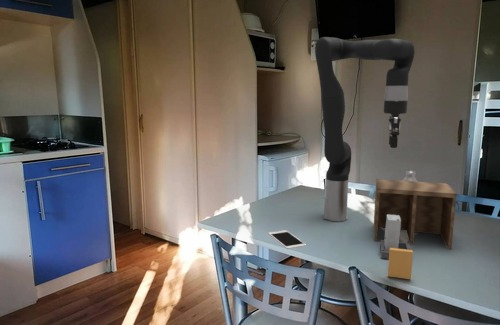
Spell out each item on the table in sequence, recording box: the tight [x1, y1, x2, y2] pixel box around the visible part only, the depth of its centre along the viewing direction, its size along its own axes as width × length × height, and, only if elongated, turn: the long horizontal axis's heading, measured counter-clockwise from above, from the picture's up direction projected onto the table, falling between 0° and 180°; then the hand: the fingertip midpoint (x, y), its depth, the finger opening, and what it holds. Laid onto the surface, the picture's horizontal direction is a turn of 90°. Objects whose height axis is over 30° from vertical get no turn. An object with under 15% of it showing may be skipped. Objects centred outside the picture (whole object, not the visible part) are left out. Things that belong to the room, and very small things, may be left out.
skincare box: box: [383, 215, 401, 252], centre depth 122 cm, size 6×4×12 cm
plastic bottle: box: [401, 169, 419, 182], centre depth 160 cm, size 6×7×20 cm
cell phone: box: [267, 229, 307, 249], centre depth 134 cm, size 8×16×1 cm, turn 22°
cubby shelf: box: [373, 178, 457, 250], centre depth 135 cm, size 25×16×20 cm, turn 72°
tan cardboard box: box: [379, 239, 414, 280], centre depth 114 cm, size 9×24×8 cm, turn 162°
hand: (392, 146), depth 129 cm, fingers open, 8 cm apart
